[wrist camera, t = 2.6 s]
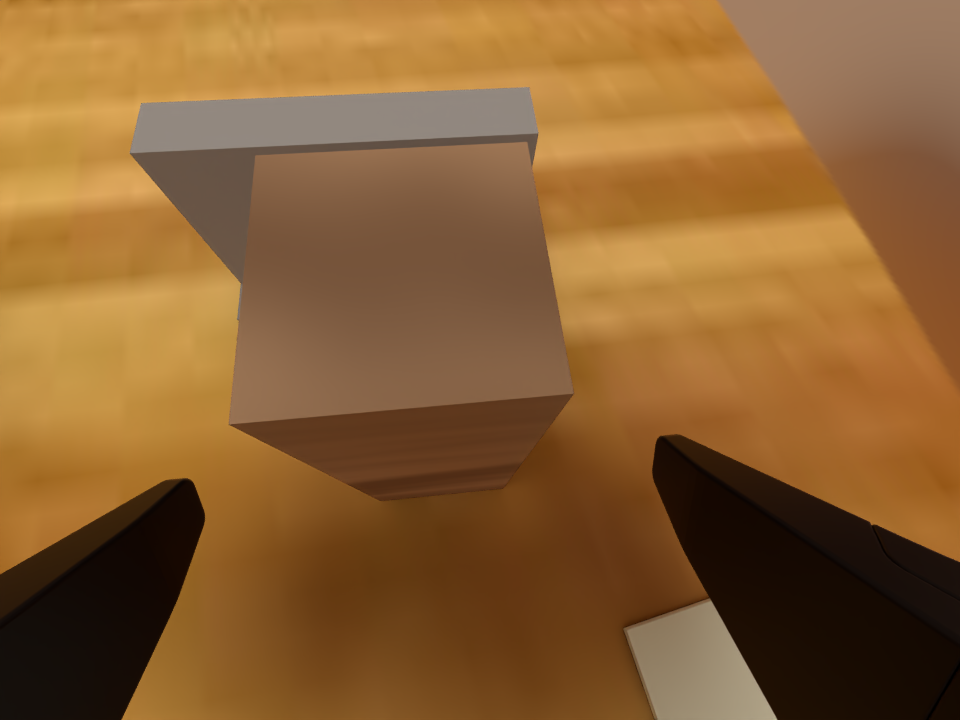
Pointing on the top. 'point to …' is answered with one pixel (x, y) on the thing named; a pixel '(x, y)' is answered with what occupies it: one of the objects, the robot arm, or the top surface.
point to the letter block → (399, 317)
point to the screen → (302, 143)
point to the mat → (694, 667)
